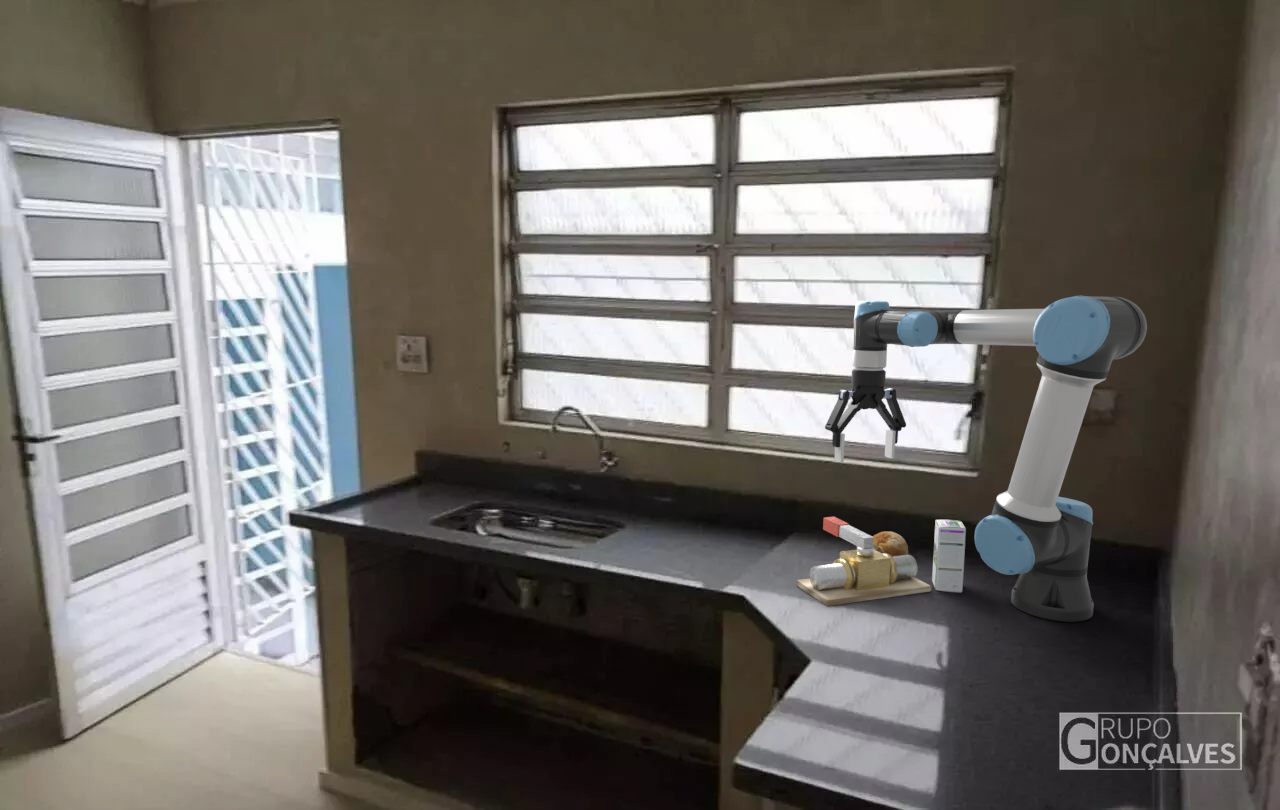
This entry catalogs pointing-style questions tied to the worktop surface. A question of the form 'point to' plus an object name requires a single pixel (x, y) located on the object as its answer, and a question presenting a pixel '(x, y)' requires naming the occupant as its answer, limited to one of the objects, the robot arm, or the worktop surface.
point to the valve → (863, 571)
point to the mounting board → (864, 591)
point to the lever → (850, 535)
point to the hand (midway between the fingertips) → (864, 459)
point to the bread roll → (890, 544)
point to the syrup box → (948, 555)
